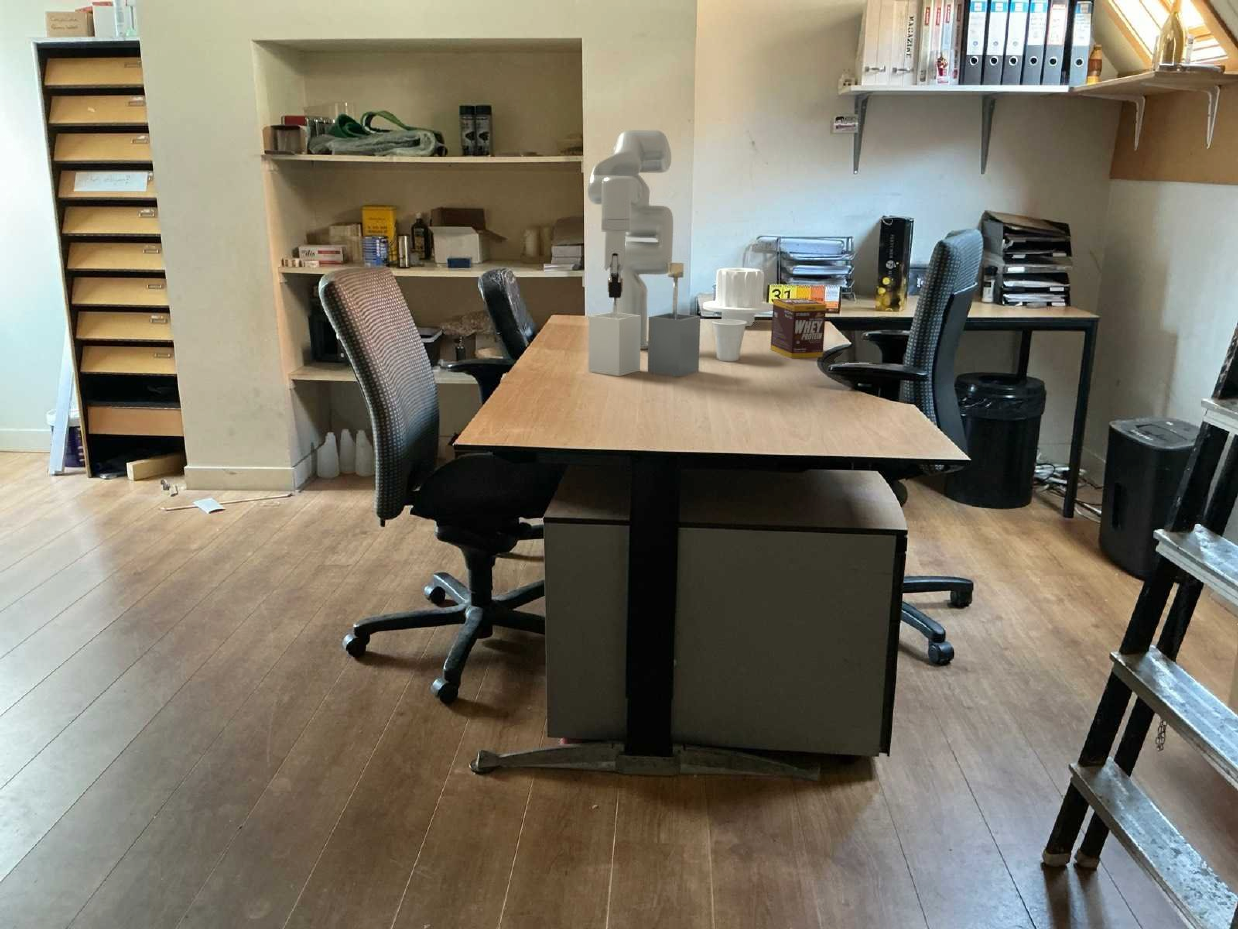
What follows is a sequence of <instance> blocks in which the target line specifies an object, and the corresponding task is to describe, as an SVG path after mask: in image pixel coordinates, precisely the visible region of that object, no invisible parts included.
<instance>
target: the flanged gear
mask: <svg viewBox="0 0 1238 929" xmlns="http://www.w3.org/2000/svg"><path fill="white" fill-rule="evenodd" d="M715 275H716V276H715V277H716V278H715V300H709V301H705V302H703V303H702V308H703V309H704V310H706V311H710V312H717V313H721V319H734V320H742V321H746V322H747V324H746V326H750V327H752V325H753V324H754V323H755V314H762V313H770V312H773V303H771V302H764V301H763V300H764V285H765V284H764V283H765V282H764V281H765V273H764V271H763V270H762V269H758V268H753V267H752V268H749V267H723V268H718V269H717V270H716V274H715ZM753 322H754V323H753ZM752 323H753V324H752Z"/></svg>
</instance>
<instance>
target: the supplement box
mask: <svg viewBox="0 0 1238 929" xmlns="http://www.w3.org/2000/svg"><path fill="white" fill-rule="evenodd" d="M772 304H773V311H772V318H771V336H770V338H771V339H770V350H771V351H774V352H776V353H777V354H780V355H783V357H784V356H785V357H787V358H789V359H800V358H801V359H809V358H821V357H820V356H823V354H824V346H825V345H824V344H825V343H824V340H825V330H826V329H825V328H826V311H827V304H826V303H822V302H819V301H815V300H812V299H808V298H804V297H803V298H800V297H799V298H795V297H794V298H792V297H791V298H790V297H789V298H774V299H773V300H772ZM823 357H824V356H823Z"/></svg>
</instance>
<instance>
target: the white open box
mask: <svg viewBox="0 0 1238 929" xmlns="http://www.w3.org/2000/svg"><path fill="white" fill-rule="evenodd" d="M640 339H641V315H633V314H624V313H617V319H613V311H608V312H605V313H598V314H593V315H589V316H588V372H589V373H595V374H601V375H609V376H614V377H620V376H624V375H628V374H631V373H636V372H639V371H641V349H640Z"/></svg>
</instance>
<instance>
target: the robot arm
mask: <svg viewBox="0 0 1238 929" xmlns="http://www.w3.org/2000/svg"><path fill="white" fill-rule="evenodd" d="M671 163H672V151H671V146H670V143H669V140H668V138H667V136H666V134H664V132H662V131H660V130H655V129H654V130H653V129H646V130H645V129H630V130H625V131H623V132H621V133H620V134H619V135H618V137H617V139H616V143H615V146H614V147H613V149H612V155H610V156H608V157H607V158H605V159H603V160H600V161H599V162H598V163H597V164H595V165H594V166H593V168H592V170H591V173H590V176H589V180H588V183H587V196H588V198H589V201H590V202H591V203H592V204H594V205H601V227H600V228H601V229H600V230H601V232H603V233H604V265H603V266H604V269H603V270H604V271H608V269H609V278H610V282H609V292H608V298H610V299H611V298H612V299H613V298H617V313H624V314H633V315H641V339H640V350H648V341H647V340H648V338H647V337H648V335H647V331H648V330H647V329H648V288H647V285H646V283H645V282H644V280H643V279H642V278H641V277H640V275H658V276H659V275H666V274H668V264H669V263H673V241H674V240H673V239H674V216H673V212H672V209H671V208H669V207H668V206H665V205H652V204H651V205H650V193H651V192H650V188H649V185H648V184H647V182H646V181H645V180H644V178H642V176H641V175H640V174H639V173H643V174H645V173H647V174H649V173H651V174H652V173H653V174H655V173H656V174H660V173H666V172H667V171H668V170H669V169H670V166H671ZM626 237H627V238H635V239H656V240H657V242H656V241H634V240H633V241H626ZM620 278H623V292H621V282H620Z"/></svg>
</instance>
